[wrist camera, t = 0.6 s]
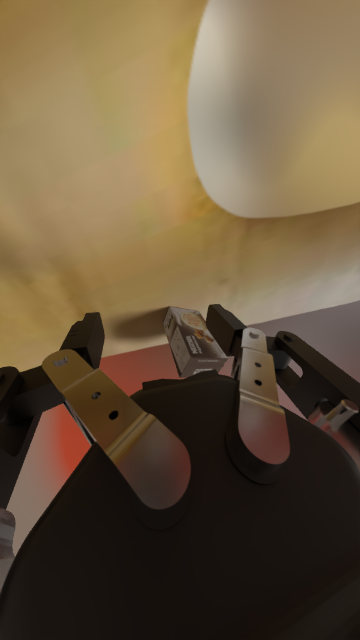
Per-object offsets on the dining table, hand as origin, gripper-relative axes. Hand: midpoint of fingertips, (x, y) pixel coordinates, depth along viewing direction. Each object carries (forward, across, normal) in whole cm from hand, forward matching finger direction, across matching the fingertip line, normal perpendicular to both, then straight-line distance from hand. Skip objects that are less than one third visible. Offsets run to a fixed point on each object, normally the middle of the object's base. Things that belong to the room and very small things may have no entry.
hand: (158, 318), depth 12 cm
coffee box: (+25, -10, +16) cm, 31 cm away
